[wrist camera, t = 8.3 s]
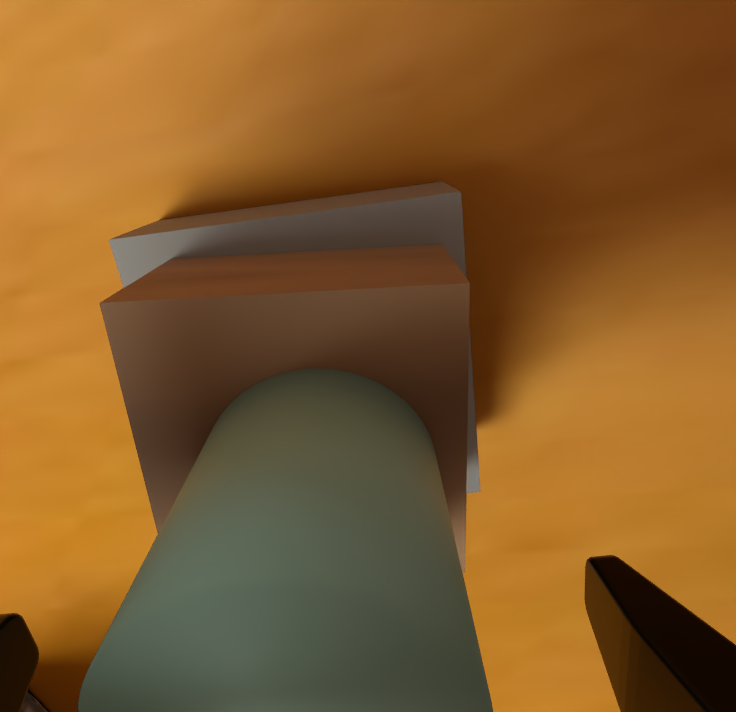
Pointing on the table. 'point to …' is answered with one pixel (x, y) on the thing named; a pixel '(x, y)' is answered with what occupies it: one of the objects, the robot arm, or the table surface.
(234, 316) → the walnut block
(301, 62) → the table surface
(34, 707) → the stone block
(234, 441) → the teal cylinder
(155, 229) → the slate base
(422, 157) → the table surface
